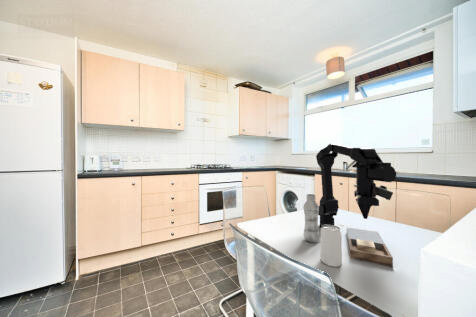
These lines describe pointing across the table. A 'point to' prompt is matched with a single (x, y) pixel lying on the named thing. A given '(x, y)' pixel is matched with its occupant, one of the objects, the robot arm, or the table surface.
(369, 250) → the tile
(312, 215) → the plastic bottle
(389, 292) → the table surface
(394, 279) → the table surface
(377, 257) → the box
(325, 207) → the robot arm
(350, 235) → the plate
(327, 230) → the can
